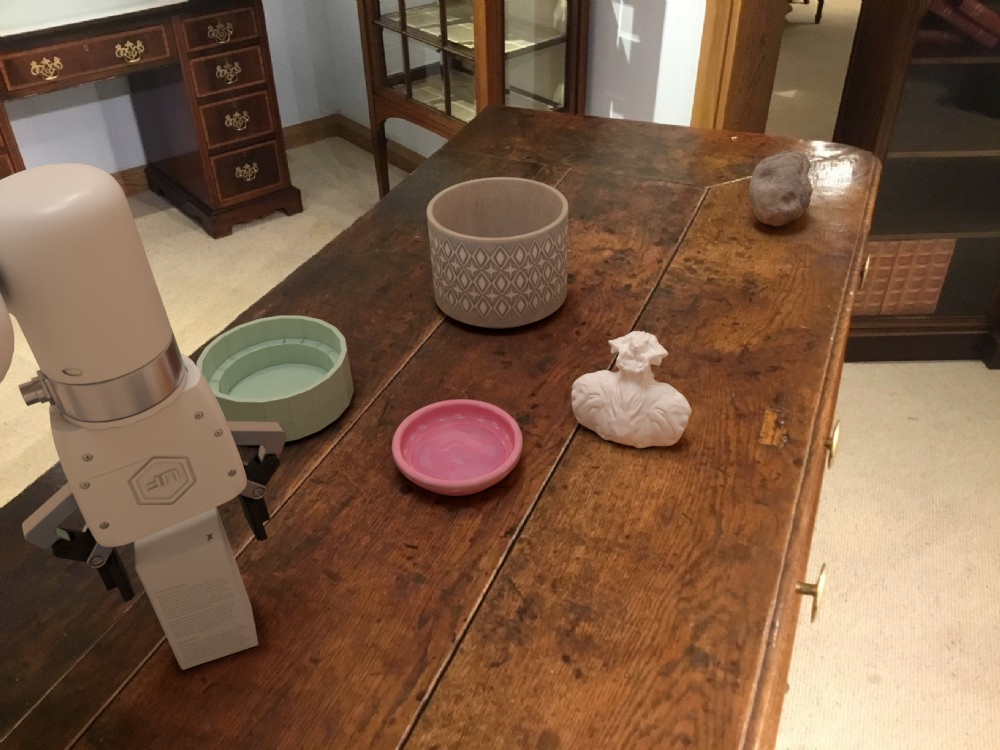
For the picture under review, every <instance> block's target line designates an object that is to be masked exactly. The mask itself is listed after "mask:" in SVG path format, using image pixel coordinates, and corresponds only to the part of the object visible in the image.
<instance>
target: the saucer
mask: <svg viewBox="0 0 1000 750" xmlns="http://www.w3.org/2000/svg"><path fill="white" fill-rule="evenodd" d="M523 440H524V439H523V433H522V430H521V428H520V426H519V424H518V423H517V421H516V420H515V419H514V417H512V416H511V415H510V414H509V413H508V412H506V411H505V410H503V409H502V408H500V407H499V406H498V405H494V404H492V403H489V402H485V401H481V400H477V399H466V398H465V399H464V398H463V399H462V398H460V399H447V400H441V401H437V402H433V403H431V404H428V405H425V406H423V407H420V408H419V409H417V410H416V411H413V412H412V413H411V414H409V415H408V416H407V417H406V418H405V419H404V420H402V422H401V423H400V424H399V425H398V427H397V428H396V430H395V432H394V435H393V437H392V443H391V453H392V458H393V461H394V464H395V466H396V468H397V469H398V470H399V471H400V473H401V474H402V475H403V476H404V477H405V478H406V479H408V480H409V481H411V483H413V484H415V485H417V486H418V487H420V488H423V489H424V490H427V491H430V492H432V493H435V494H438V495H443V496H450V497H460V496H461V497H463V496H468V495H469V496H470V495H474V494H477V493H480V492H482V491H485V490H487V489H489V488H490V487H492V486H494V485H495V484H498V483H499V482H500V481H502V480H503V479H505V477H507V475H509V474H510V473H511V472H512V471H513V470H514V468H515V467H516V466H517V464H518V463H519V461H520V458H521V456H522V453H523V445H524V444H523V443H524V441H523Z"/></svg>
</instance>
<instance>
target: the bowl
mask: <svg viewBox="0 0 1000 750" xmlns="http://www.w3.org/2000/svg"><path fill="white" fill-rule="evenodd" d="M196 366H197V367H198V368H199V370H200V371H201V372H202V374H203V375H204V377H205V379H206V380H207V382H208V384H209V385H210V387H211V389H212V391H213V393H214V394H215V397H216V399H217V401H218V403H219V405H220V407H221V409H222V412H223V414H224V417H225V419H226V421H255V422H279V423H280V424H281V426H282V428H283V429H284V431H285V432H286V434H287V436H286V440H285V443H286V442H292V441H296V440H300V439H302V438H305V437H308V436H310V435H312V434H313V435H314V434H315V433H318V432H320V431H322V430H323V429H324V428H327V426H329V425H331V424H332V423H333V422H334V421H336V420H337V419H339V418H340V416H341V415H342V414H343V413H344V412H345V411H346V410H347V408H348V407H349V406H350V405H351V401H352V398H353V395H354V392H355V387H354V382H353V375H352V370H351V364H350V359H349V353H348V347H347V340H346V338H345V336H344V335H343V334H342V332H341V331H340V330H339V329H338V328H337V327H336V326H334V325H333V324H330V323H329V322H327V321H325V320H323V319H320V318H315V317H310V316H306V315H289V314H288V315H285V314H284V315H283V314H282V315H275V316H274V315H273V316H269V317H262V318H261V317H260V318H257V319H254V320H251V321H247V322H245V323H242V324H239V325H237V326H235V327H233V328H230V329H229V330H227V331H225V332H223V333H221V334H220V335H218V336H217V337H216V338H214V339H213V340H212V341H211V342H210V343H209V344H208V345H207V346H205V347H204V349H203V351H202V352H201V354H200V355H199V357H198V359H197V361H196Z"/></svg>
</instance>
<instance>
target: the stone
mask: <svg viewBox="0 0 1000 750" xmlns="http://www.w3.org/2000/svg"><path fill="white" fill-rule="evenodd" d="M810 168H811V161H810V159H809V158H808V156H807V155H806V154H805V153H802V152H799V151H791V150H781V151H779V152H776V153H774V154H772V155H769V156H766V157H765V158H762V159H761V161H759V163H757V164H756V166H755V168H754V170H753V171H752V174H751V178H750V180H749V187H748V192H747V193H748V198H749V201H750V205H751V207H752V208H751V209H752V211H753V213H754V215H755V218H756V219H757V220H758V221H759V222H760V223H762V224H765V225H768V226H773V227H781V226H784V225H787V224H789V223H790V222H792V221H795V220H798V219H799V218H800V217H801V216H802V215H803V213H805V211H806V210H807V209H808V207H809V206H810V204H811V197H812V195H813V191H814V189H813V186H812V184H811V182H810V180H809V177H808V175H809V171H810Z"/></svg>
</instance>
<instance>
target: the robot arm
mask: <svg viewBox="0 0 1000 750" xmlns="http://www.w3.org/2000/svg"><path fill="white" fill-rule="evenodd" d="M10 315H12V316H13V317H14V318H15V319H16V322H17V323H18V326H19V328H20V330H21V332H22V334H23V336H24V339H25V341H26V342H27V344H28V346H29V349H30V351H31V354H32V355H33V357H34V359H35V361H36V363H37V366H38V367H39V369H38V370H36V374H37V376H35V377H31V378H30V380H29V381H26V382H23V383H20V384H18V385H17V386H18V390H19V392H20V394H21V397H22V399H23V401H24V403H25V405H26V406H27V407H30V406H32V405H35V404H38V403H40V404H46V403H49V408H48V414H49V423H50V429H51V434H52V438H53V439H52V440H53V443H54V447H55V451H56V453H57V456H58V459H59V462H60V466H61V468H62V471H63V472H64V473H63V474H64V475H65V478H66V481H67V482H66V483H65V484H64V485H62V487H61V488H59V489H58V490H57V491H56V492H55V493H54V494H53V495H51V497H50V498H48V499H47V500H46V501H45V502H44V503H43V504H42V505H40V507H38V509H36V510H35V511H34V512H33V513H32V514H30V515H29V516H28V517H27V518H26V519H24V521H23V522H22V523H21V529H22V532H23V537H24V540H25V541H26V542H28V543H29V544H32V545H33V546H35V547H38V548H39V549H42V550H44V551H49V552H51V553H52V554H53V556H54V557H55V558H58V559H62V560H63V559H64V560H68V561H75V562H82V563H86V565H87V567H89V568H90V569H95V570H96V571H97V572H98V574H99V577H100V578H101V581H102V583H103V584H104V586H105V588H106V590H107V592H109V591H111V590H113V589H116V588H117V590H118V591H119V594H120V595H121V597H122V599H123V602H124V603H127V602H130V601H132V600H133V598H134V597H135V596H136V595H135V592H134V589H133V586H132V582H131V580H130V577H129V574H128V572H127V569H126V567H125V565H124V562H123V560H122V557H120V554H119V552H118V550H117V547H121V546H125V545H129V544H131V543H132V544H133V543H134V541H137V540H139V539H142V538H144V537H147V536H149V535H151V534H154V533H156V532H159V531H161V530H163V529H166V528H168V527H170V526H173V525H175V524H178V523H180V522H182V521H185V520H187V519H189V518H192V517H194V516H196V515H199V514H201V513H203V512H206V511H208V510H210V509H213V508H215V507H217V508H218V507H219V506H222V505H224V504H226V503H228V502H230V501H231V500H233V499H235V498H236V497H238V499H239V502H240V505H241V509H242V512H243V514H244V517H245V520H246V521H247V523H248V526H249V527H250V530H251V531H252V534H253V535H254V537H255V539H256V541H257V542H259V541H260V542H263V541H265V540H267V539H268V538H269V537H268V535H267V531H266V529H265V525H264V523H265V522H268V521H270V520H271V516H270V513H269V510H268V507H267V503H266V500H265V496H266V495H267V492H268V489H267V487H266V486H267V485H268V483H269V482H270V481H271V479H272V477H274V474H275V473H276V471H277V470H278V469H279V467H280V465H281V464H280V463H281V461H280V456H281V455H282V453H283V450H284V446H285V443H286V442H285V440H286V436H287V434H286V432H285V431H284V429H283V428H282V426H281V424H280V423H279V422H255V421H226V419H225V417H224V414H223V412H222V409H221V407H220V405H219V403H218V401H217V399H216V397H215V394H214V393H213V391H212V389H211V387H210V385H209V384H208V382H207V380H206V379H205V377H204V375H203V374H202V372H201V371H200V370H199V368H198V367H197V364H196V363H195V362H194V361H193V359H191V358H190V357H189V356H187V355H185V354H183V353H181V350H180V347H179V344H178V342H177V339H176V336H175V333H174V331H173V328H172V326H171V322H170V319H169V316H168V314H167V310H166V308H165V304H164V301H163V298H162V296H161V293H160V291H159V287H158V284H157V281H156V278H155V275H154V273H153V269H152V267H151V264H150V261H149V258H148V255H147V252H146V249H145V247H144V244H143V240H142V238H141V235H140V232H139V230H138V227H137V224H136V221H135V217H134V214H133V212H132V209H131V207H130V204H129V201H128V199H127V196H126V194H125V191H124V190H123V187H122V186H121V185H120V183H119V182H118V181H117V179H115V177H114V176H113V175H111V174H110V173H109V172H107V171H106V170H104V169H102V168H99V167H96V166H94V165H91V164H86V163H81V162H80V163H77V162H64V163H63V162H61V163H53V164H51V163H50V164H46V165H40V166H35V167H31V168H28V169H27V168H26V169H24V170H21V171H18V172H16V173H13V174H10V175H8V176H6V177H4V178H1V179H0V384H2V382H3V381H4V379H5V378H6V375H7V373H8V372H9V369H10V368H11V365H12V363H13V362H12V361H13V357H14V353H15V331H14V325H13V322H12V320H11V319H12V318H11V316H10ZM238 446H259V447H257V449H256V451H255V452H254V454H253V455H252V457H251V458H250V460H249V462H247V461H244V460H242V457H241V454H240V452H239V450H238ZM78 509H79V512H80V513H81V515H82V517H83V520H84V521H85V524H84V526H83V528H82V530H78V529H77V530H76V529H70V528H67V527H60V526H61V525H62V524H63V523H64V522H65V521H66V520H68V519H69V517H71V516H72V515H73V514H74V513H75V512H77V510H78Z"/></svg>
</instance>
